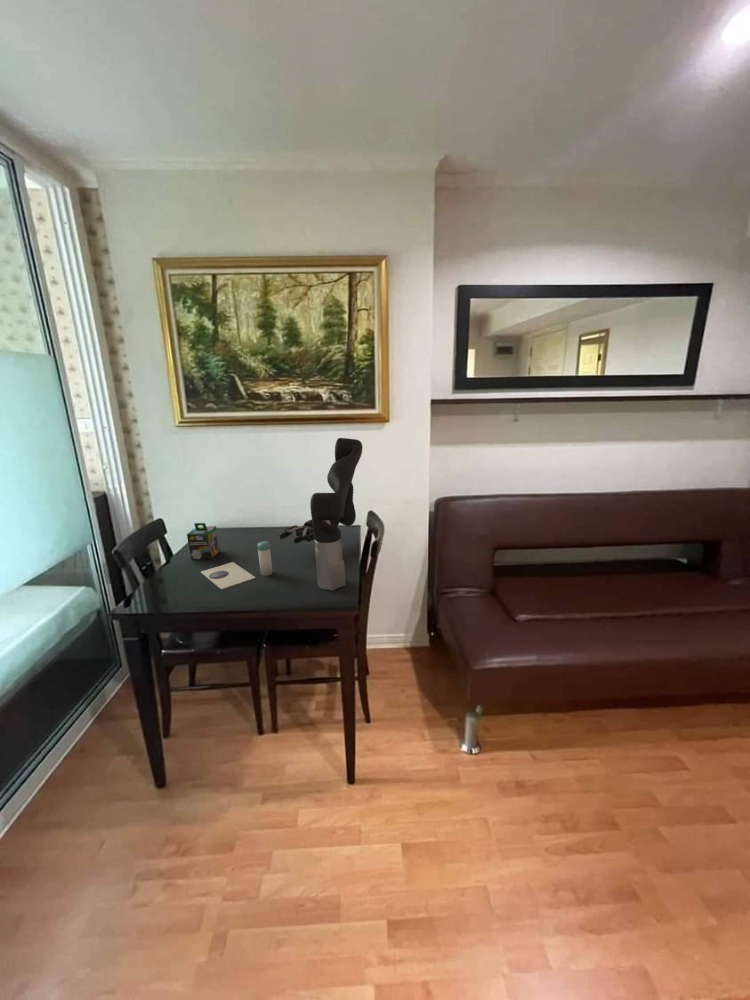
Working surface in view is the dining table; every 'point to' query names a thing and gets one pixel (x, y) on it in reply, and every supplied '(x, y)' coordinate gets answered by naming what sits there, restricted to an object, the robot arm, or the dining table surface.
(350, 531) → the dining table surface
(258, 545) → the white bottle
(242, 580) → the paper
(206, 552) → the chalk box
